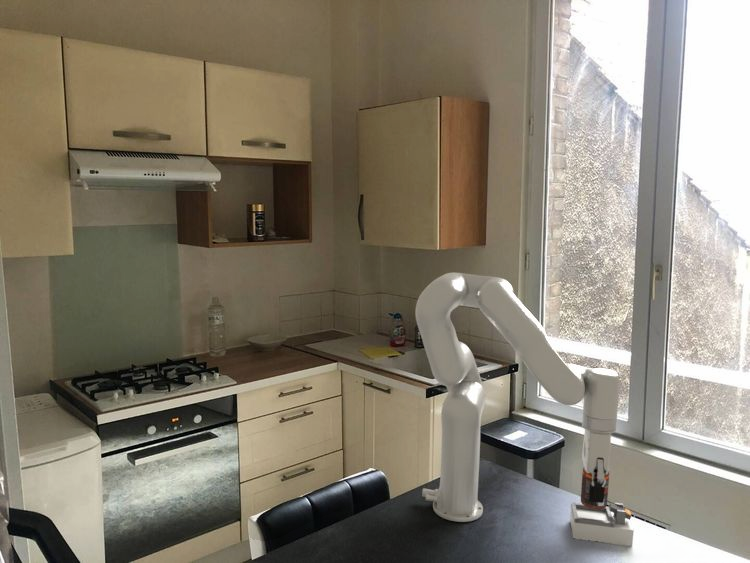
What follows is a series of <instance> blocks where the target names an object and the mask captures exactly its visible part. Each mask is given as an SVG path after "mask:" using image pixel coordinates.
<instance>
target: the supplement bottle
mask: <svg viewBox="0 0 750 563" xmlns="http://www.w3.org/2000/svg"><path fill="white" fill-rule="evenodd" d="M594 472H597V470H595V469H594ZM595 478H597V475H594V479H595ZM609 481H610V471H608V474H607V475H604V486H605V489H604V502H603V503H599V502H590V501H589V488H590V484H591V473H587V472H586V471H585V468H584V466H583V468H582V475H581V489H580V491H581V492H580V503H581V504H583V505H584V506H586V507H588V508H591V509H597V510H600V509H604V508H605V507H608V506H607V505H608V498H609V497H608V495H609V485H610V484H609V483H610V482H609Z"/></svg>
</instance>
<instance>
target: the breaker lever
mask: <svg viewBox="0 0 750 563" xmlns="http://www.w3.org/2000/svg"><path fill="white" fill-rule="evenodd" d="M614 504H615V503H611V502H609V504H608V506H607V507H609V510H610V511H611V512H613V513H616V514H617V510H624V511H626V516H625V518H627V519H629V520H630V521H631V518H632V513H631V511H630V510H629V509H628V508H624V507H623V508H621V507H618V506H616V505H614Z"/></svg>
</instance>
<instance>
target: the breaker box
mask: <svg viewBox="0 0 750 563" xmlns="http://www.w3.org/2000/svg"><path fill="white" fill-rule="evenodd" d="M613 504H614V505H616V506H618V507H621V508H623V509H624V504H623V503H621V502H614V503H613ZM625 516H626V511H624V510H617V514H616V513H613V512H611V511H610V510H609V507H608V506H606V507H605V508H604V509H600V510H597V509H591V508H588V507H586V506H584V505H583V504H582V503H581V502H571V504H570V517H569V523H571V524H570V527H571V528H570V529H571V533H572V538H576V539H575V540H580V539H582V540H583V541H588V540H590V542H595V541H598V542H597V543H603V542H604V543H605V544H609V545H611V544H612V545H619V546H626V547H633V544H634V543H633V541H634V531H635V530H634V528H633V525H632V523H631V519H630V520H629V519H627V518H625ZM582 540H581V541H582Z"/></svg>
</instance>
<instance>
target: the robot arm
mask: <svg viewBox="0 0 750 563" xmlns="http://www.w3.org/2000/svg"><path fill="white" fill-rule="evenodd" d="M459 306H462V307H471V308H477V309H479V310H480V311H481V313H482V314H483V315H484V316H485V317H486V318H487V320H489V322H491V324H492V325H493V326H494V328H495V329H496V330H497V331H498V332H499V333H500V334H501V335H502V337H503V338H504V339H505V340H506V341H507V342H508V343H509V344H510V345H511V347H512V348H513V349H514V351H515V353H516V354H517V356H518V357H519V358H520V360H521V361H522V362H523V363H524V365H525V366H526V368H527V369H528V371H529V372H530V374H531V375H532V376H533V377H534V379H535V380H536V381H537V382H538V383H539V384H540V386H541V387H542V388H543V389H544V390H545V391H546V392H547V393H548V394H549V396H550V398H551V397H552V399H553V400H554V401H556V402H557V403H558V404H560V405H564V406H568V407H569V406H574V405H577V404H579V403H580V402H581V401H582V400H583V403H582V404H583V407H582V420H581V421H582V423H581V427H582V428H583V430H584V435H583V444H582V453H581V454H582V455H581V459H582V463H583V467H584V468H585V471H586V472H587V473H591V484H590V488H589V501H590V502H599V503H603V502H604V489H605V486H604V475H607V474H608V471H609V470H610V459H611V443H612V442H611V440H612V439H611V438H612V434H615V432H617V422H618V409H619V396H620V384H621V382H620V381H621V380H620V376H619V374H618V372H616V371H614V370H612V369H608V368H601V367H600V368H599V367H598V368H597V367H596V368H591V367H585V366H582V365H577V364H574V363H567V362H565V361H564V360H563V359H562V357H561V356H560V355H559V354H558V352H557V351H556V350H555V348H554V347H553V345H552V343H551V341H550V339H549V336H548V335H547V333H546V330H545V329H544V327H543V326H542V324H541V322H539V321H538V320H537V318H536V317H535V316H534V315H533V313H531V312H530V310H528V308H527V307H526V306H525V305H524V304H523V303H522V302H521V300H520V299H519V298H518V297H517V295H516V294H515V292H514V288H513V286H512V284H511V283H510V282H509V281H508V280H507V279H504V278H502V277H498V276H488V275H479V274H478V275H477V274H472V273H471V274H470V273H464V272H463V273H462V272H455V271H454V272H447V273H445V274H443V275H441V276H438V277H437V278H435V279H434V280H433V281H431V283H429V284H427V286H426V287H425V288H424V289H423V291H422V292H421V293H420V294H419V296H418V299H417V301H416V305H415V311H414V312H415V313H414V314H415V321H416V325H417V329H418V332H419V335H420V336H421V339H422V344H423V347H424V351H425V354H426V357H427V359H428V363H429V366H430V370H431V373H432V376H433V377H434V379H435V381H437V383H438V384H440V385H441V386H445V387H446V390H447V394H446V396H445V398H444V400H443V402H442V406H441V413H440V419H441V448H440V449H441V455H440V456H441V457H440V476H439V478H440V479H439V488H435V489H429V488H422V492H421V494H422V495H421V496H422V497H425V501H429V502H430V501H431V502H433V503H432V508H433V511H434V512H435V514H436V515H437V516H439V517H441V518H442V519H445V520H448V521H452V522H458V523H467V522H468V523H469V522H472V521H475V520H478V519H479V518H481V517H482V516H483V513H484V506H483V504H482V503H481V502H480V501H479V500H478V494H479V493H478V492H479V475H480V473H479V472H480V454H481V452H480V451H481V448H480V447H481V422H482V413H483V410H484V407H485V404H486V400H487V399H486V398H487V397H486V396H487V395H486V391H485V390H486V389H485V388H484V383H483V381H482V378H481V376H480V371H479V369H478V366H477V362H476V360H475V356H474V354H473V352H472V351H471V349H470V348H469V347H468V345H467V344H466V343H464V342H462V341H459V339H458V338H459V337H458V336H457V332H456V329H455V326H454V324H453V322H452V320H451V313H452V312H453V310H455V309H456V308H458V307H459ZM594 469H595V470H597V472H594ZM609 472H610V471H609ZM594 475H597V478H595V479H594Z"/></svg>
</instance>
